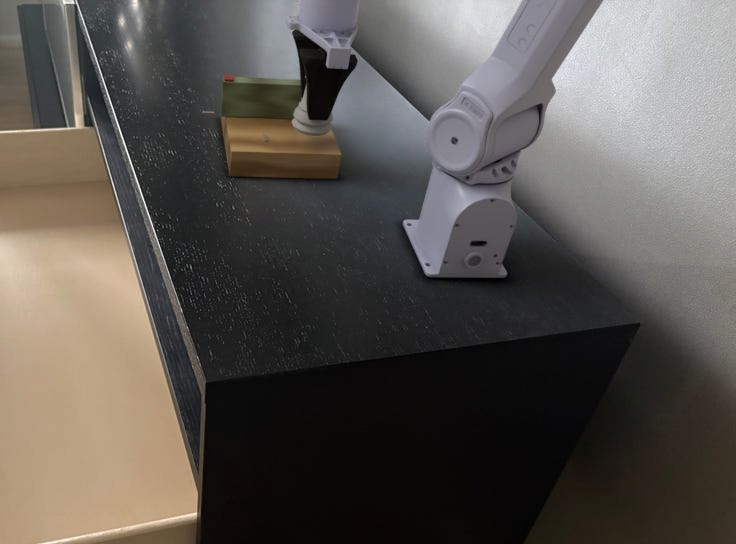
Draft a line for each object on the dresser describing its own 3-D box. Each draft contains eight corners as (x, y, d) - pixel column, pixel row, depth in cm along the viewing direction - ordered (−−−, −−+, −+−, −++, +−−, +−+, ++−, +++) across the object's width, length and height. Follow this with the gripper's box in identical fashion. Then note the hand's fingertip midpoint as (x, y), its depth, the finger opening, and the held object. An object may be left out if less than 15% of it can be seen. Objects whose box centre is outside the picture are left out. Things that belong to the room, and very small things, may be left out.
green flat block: (297, 113, 88) (301, 77, 85) (299, 119, 87) (303, 83, 84) (220, 110, 87) (222, 73, 84) (221, 116, 86) (223, 79, 83)
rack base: (337, 179, 83) (342, 153, 81) (205, 176, 82) (206, 148, 79) (315, 117, 95) (318, 93, 93) (198, 113, 93) (199, 88, 91)
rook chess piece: (340, 130, 82) (352, 56, 77) (314, 141, 80) (325, 65, 75) (308, 115, 85) (319, 42, 79) (282, 126, 82) (291, 51, 77)
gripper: (282, -51, 77) (269, 81, 86) (304, -5, 66) (286, 140, 75) (350, -46, 78) (330, 84, 87) (382, -1, 67) (356, 142, 76)
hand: (314, 110), depth 81 cm, fingers closed on rook chess piece, 3 cm apart
